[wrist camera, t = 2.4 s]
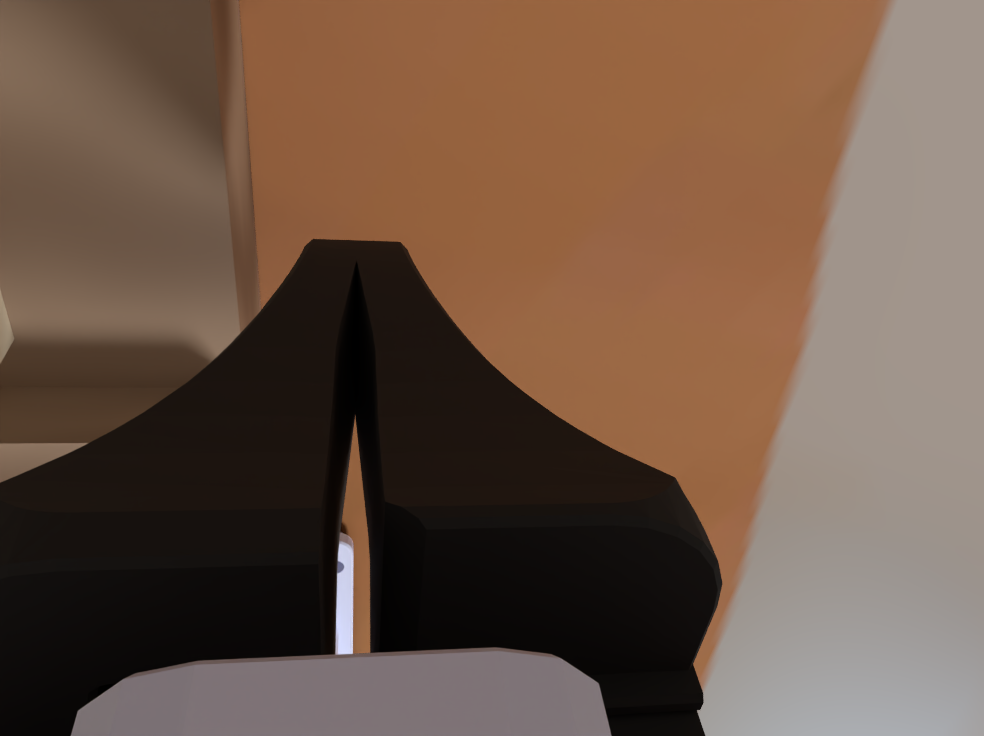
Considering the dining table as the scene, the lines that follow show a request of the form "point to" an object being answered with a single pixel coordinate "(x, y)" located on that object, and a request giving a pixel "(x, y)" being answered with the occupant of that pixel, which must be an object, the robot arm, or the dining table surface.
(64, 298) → the trap box
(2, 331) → the maple block
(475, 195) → the dining table surface
